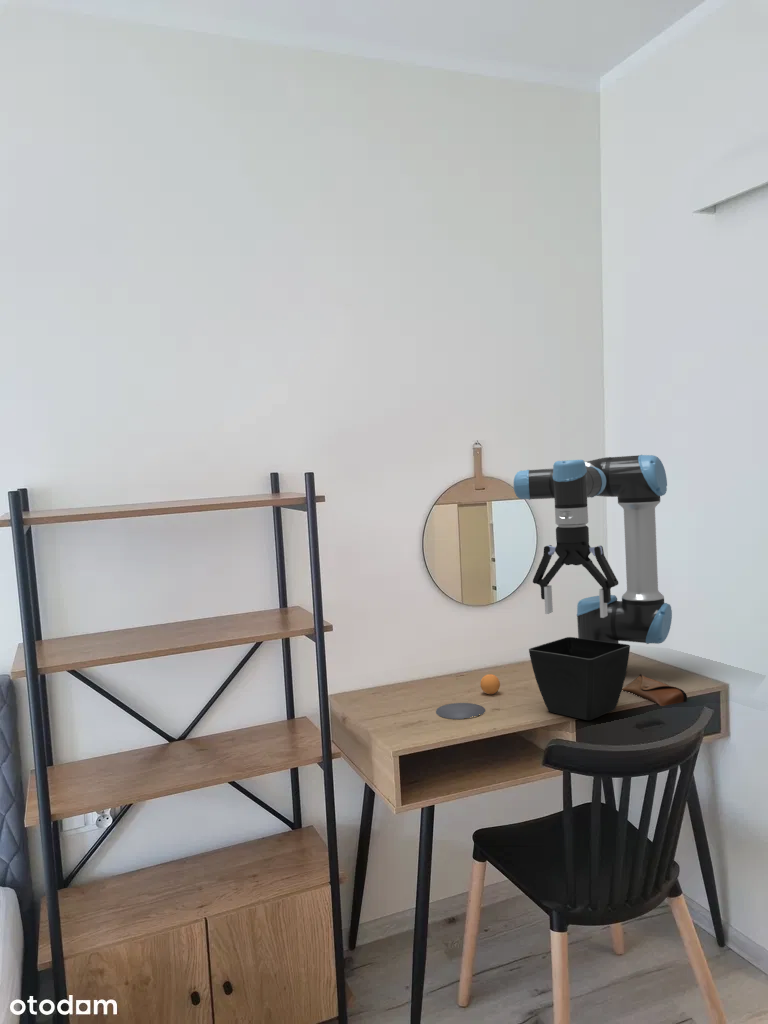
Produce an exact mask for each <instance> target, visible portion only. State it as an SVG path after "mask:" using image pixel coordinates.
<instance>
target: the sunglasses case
mask: <svg viewBox="0 0 768 1024" xmlns="http://www.w3.org/2000/svg"><path fill="white" fill-rule="evenodd" d="M622 690H623V691H622V692H625V691H627V692H626V693H628V692H630V693H629V694H631V693H633V694H632V695H634V694H635V695H634V696H636V695H637V696H636V697H639V696H640V697H639V698H641V697H642V698H641V699H644V700H646V701H649V702H651V703H654V704H656V705H657V706H659V707H665V706H670V705H674V704H680V703H687V702H688V701H687V700H688V696H687V693H686V691H684V690H683V689H681V688H680V687H677V686H673V685H670V684H666V683H664V682H661V681H659V680H656V679H653V678H650V677H647V676H644V675H643V674H641V673H639V676H638V677H636V678H635V679H634V680H632V681H631V682H629V683H628V684H627V685H625V686H623V687H622Z"/></svg>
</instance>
